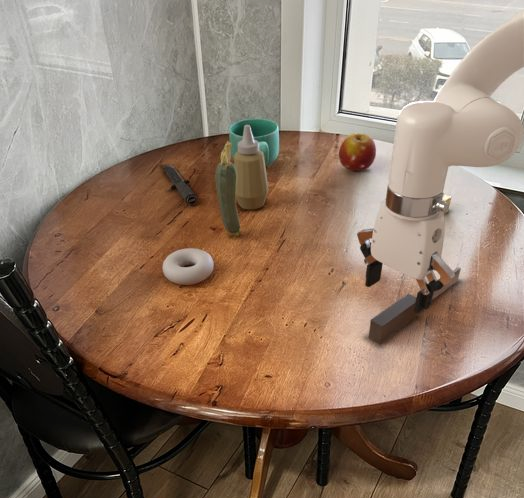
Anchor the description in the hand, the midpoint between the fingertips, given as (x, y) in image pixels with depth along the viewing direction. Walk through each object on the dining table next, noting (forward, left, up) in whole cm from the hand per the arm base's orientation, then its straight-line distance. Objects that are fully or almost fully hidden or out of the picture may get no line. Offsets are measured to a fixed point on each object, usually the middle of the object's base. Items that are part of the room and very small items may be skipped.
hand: (396, 296), depth 87 cm
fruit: (+45, -43, -7) cm, 63 cm away
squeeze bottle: (+50, -12, -7) cm, 52 cm away
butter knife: (0, -7, -7) cm, 10 cm away
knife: (+71, -6, -7) cm, 71 cm away
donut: (+38, +15, -7) cm, 41 cm away
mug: (+64, -26, -7) cm, 69 cm away
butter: (+18, -36, -7) cm, 41 cm away
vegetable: (+43, 0, -7) cm, 43 cm away
